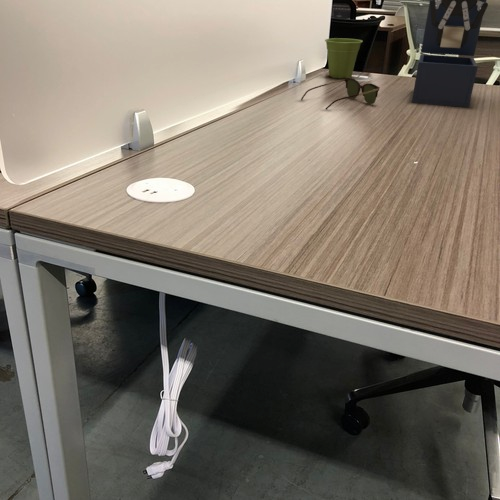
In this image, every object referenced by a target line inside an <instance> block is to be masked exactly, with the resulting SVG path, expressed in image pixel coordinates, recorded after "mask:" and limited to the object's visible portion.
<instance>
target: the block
mask: <svg viewBox="0 0 500 500" xmlns="http://www.w3.org/2000/svg"><path fill="white" fill-rule="evenodd" d="M463 32H464V27H463V26H444V28H443V35H442V40H441V45H440V47H447V48H460V47H461V42H462V37H463Z"/></svg>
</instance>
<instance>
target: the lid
mask: <svg viewBox="0 0 500 500" xmlns="http://www.w3.org/2000/svg"><path fill="white" fill-rule="evenodd" d="M431 1H432V0H429V3H428V9H427V13H426V14H427V15H426V20H425V27H424V31H423V38H422V44H421V49H420V54H432V55H448V56H464V57H474V56H475V53H476V49H477V45H478V40H479V35H480V31H481V26H482V23H483V18H484V16H483V17H482V19H481V21H480V23H479V25H478V27H477V28H474V29H471V30H470V31H469V33H468V38H467V42H466V44H463V47H460V48H447V47H440V45H438V43H437V42H436V36H437V31H438V29H437V27H434V26H432V23H431V8H430V2H431ZM434 1H435V0H434ZM478 1H481V2H486V3H487V0H478ZM445 12H446V11H445V9H444V7H443V5H442V3H441V4H440V5H439V8H438V9H436V21H437V22H439V23H440V22H441V20H442V18H443V16H444V14H445ZM478 12H479V11H478V10H477V5H475V6H474V7H473V8H472V9H471V10H470V11H469V12H468V14H469V23H470V24H472V23H474V20H475V18H476V16H477V14H478ZM444 26H463V27H464V21H463V16H457V15H455V16H449V18H448V20H447V21H446V23H445V25H444ZM443 28H444V27H443Z"/></svg>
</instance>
